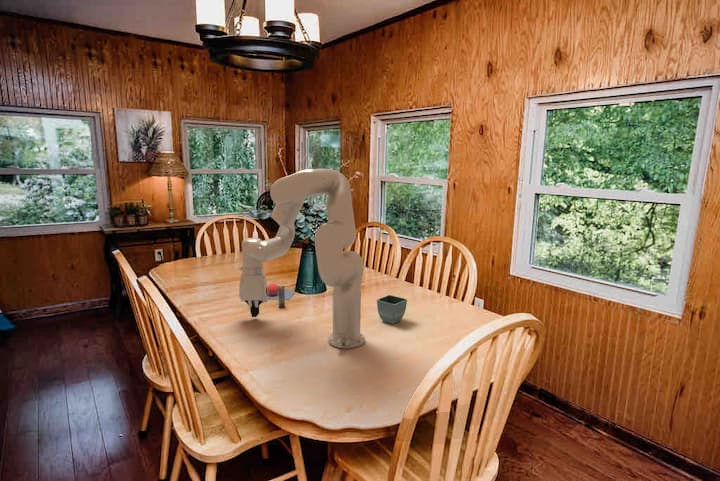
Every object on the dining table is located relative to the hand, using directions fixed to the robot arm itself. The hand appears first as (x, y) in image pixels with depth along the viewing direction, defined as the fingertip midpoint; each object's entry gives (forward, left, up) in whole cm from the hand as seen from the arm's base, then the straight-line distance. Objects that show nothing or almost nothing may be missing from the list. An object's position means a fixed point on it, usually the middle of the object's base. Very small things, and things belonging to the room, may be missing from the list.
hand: (255, 315), depth 161 cm
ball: (+29, +2, +1) cm, 29 cm away
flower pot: (+5, -53, -2) cm, 53 cm away
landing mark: (+31, 0, -2) cm, 31 cm away
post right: (+15, -6, -2) cm, 16 cm away
